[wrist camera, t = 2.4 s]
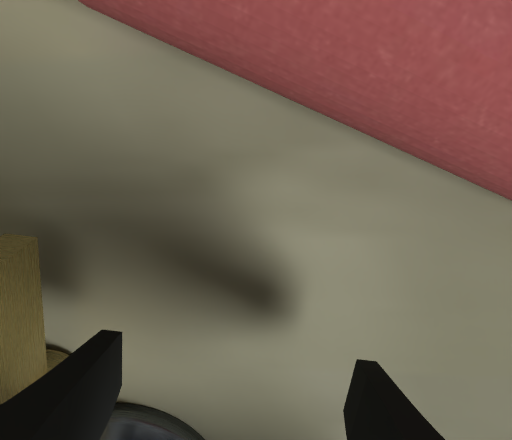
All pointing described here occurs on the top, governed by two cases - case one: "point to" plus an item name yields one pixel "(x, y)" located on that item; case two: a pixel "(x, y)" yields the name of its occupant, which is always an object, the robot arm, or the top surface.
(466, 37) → the blood vessel
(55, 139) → the top surface
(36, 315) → the brass knob
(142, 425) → the base
